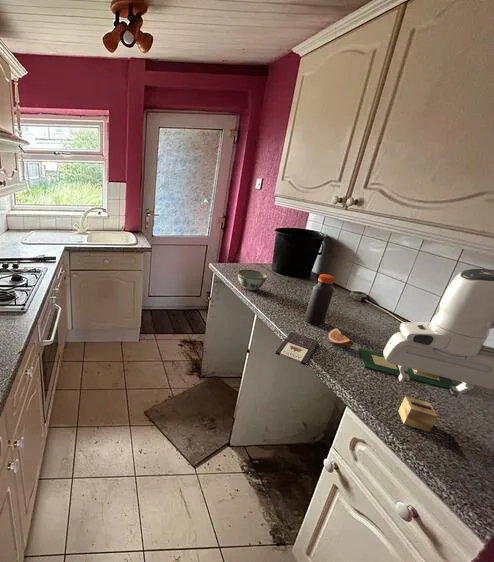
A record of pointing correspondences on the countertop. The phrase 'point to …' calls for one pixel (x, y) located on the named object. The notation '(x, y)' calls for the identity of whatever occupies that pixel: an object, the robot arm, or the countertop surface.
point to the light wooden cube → (417, 414)
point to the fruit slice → (339, 338)
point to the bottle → (320, 300)
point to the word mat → (380, 364)
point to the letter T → (426, 374)
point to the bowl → (251, 279)
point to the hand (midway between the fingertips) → (427, 387)
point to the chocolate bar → (297, 348)
